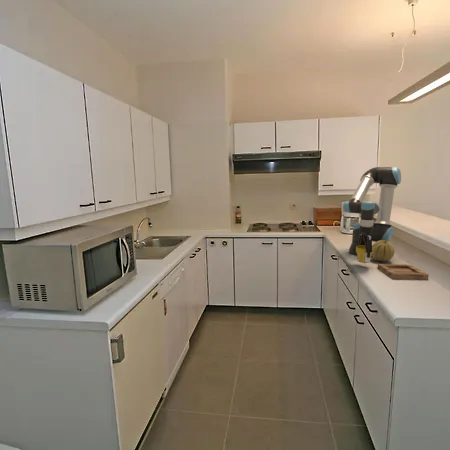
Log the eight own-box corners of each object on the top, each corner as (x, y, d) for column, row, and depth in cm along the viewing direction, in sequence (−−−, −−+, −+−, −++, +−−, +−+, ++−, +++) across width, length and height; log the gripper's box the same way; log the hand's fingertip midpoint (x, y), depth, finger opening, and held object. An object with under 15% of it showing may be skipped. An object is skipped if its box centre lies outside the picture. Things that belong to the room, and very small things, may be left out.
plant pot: (363, 258, 213) (364, 244, 212) (376, 263, 204) (377, 248, 202) (351, 260, 210) (352, 246, 208) (363, 265, 200) (364, 249, 198)
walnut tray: (377, 268, 204) (377, 264, 203) (409, 269, 203) (410, 264, 203) (392, 279, 184) (393, 274, 184) (428, 279, 184) (428, 274, 183)
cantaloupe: (381, 257, 230) (382, 237, 227) (398, 263, 216) (400, 241, 214) (364, 259, 224) (366, 238, 222) (381, 265, 211) (384, 243, 208)
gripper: (353, 222, 214) (351, 254, 218) (367, 229, 191) (364, 265, 196) (365, 222, 213) (362, 254, 218) (380, 229, 191) (377, 265, 195)
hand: (363, 259), depth 207 cm, fingers closed on plant pot, 10 cm apart
